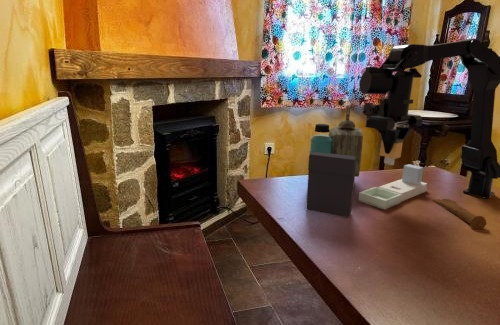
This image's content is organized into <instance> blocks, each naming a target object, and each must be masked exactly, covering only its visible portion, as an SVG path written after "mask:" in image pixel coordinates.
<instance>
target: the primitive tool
mask: <svg viewBox="0 0 500 325" xmlns="http://www.w3.org/2000/svg"><path fill="white" fill-rule="evenodd" d="M431 201H433V202H434V203H436V205H439V206H441V207H442V208H444V209H445V210H447V211H449V212H450V213H452V214H453V215H455V216H456V217H458V218H460V219H462V220H463V221H464V222H466V223H467V224H469V226H470V228H472V229H473V230H483V229H484V228H485V227H486V226H487V220H486V218H485V217H484V216H483V215H476V214H474V213H472V212H470V211H469V210H467V209H466V208H463V207H462V206H460V204H457V202H456V201H455V200H453V199H449V198H442V199H441V198H439V199H438V198H437V199H436V198H434V199H431Z"/></svg>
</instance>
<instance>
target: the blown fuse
mask: <svg viewBox="0 0 500 325" xmlns="http://www.w3.org/2000/svg"><path fill="white" fill-rule="evenodd" d="M403 140H404V139H399V138H397V139H396V141H395V143H394V145H393V147H392V150H391V151H390V153H389V154H387V153H385V150H384V145H383V140H382V138H381V141H380V148H379V149H380V150H379V156H381V157H384V160H383V163H384V164H386V165H390V166H394V165H395V160H396V159H399V158H401V156H402V150H403V143H404V141H405V140H404V141H403Z"/></svg>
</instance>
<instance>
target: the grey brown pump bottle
mask: <svg viewBox="0 0 500 325" xmlns="http://www.w3.org/2000/svg"><path fill="white" fill-rule="evenodd" d="M350 105H351V104H347V105H346V110H345V111H346V112H345V119H343V120H341V121H340V122H339V124H337V126H335V127H332V128H329V132H328V136H329V137H330V138H331V139H332V147H331V154H338V155H347V156H355V157H356V158H357V159H356V169H355V178H357V177H360V173H361V171H360V170H361V164H362V155H363V154H362V152H363V140H364V138H363V136H364V134H363V131H362V129H361V128H360V127H356V124H355V122H354V121H353V120H351V119H350V115H351V114H350V113H351V106H350Z"/></svg>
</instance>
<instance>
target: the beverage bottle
mask: <svg viewBox="0 0 500 325" xmlns="http://www.w3.org/2000/svg"><path fill="white" fill-rule="evenodd" d="M329 130H330V125H329V124H328V123H327V124H326V123H317V124H315V127H314V132H316V133H329ZM331 147H332V139H331V138H330V137H329V135H327V134H314V135H313V136H312V137H311V138H310V149H309V155H310V154H311V153H313V152H321V153H330V154H331ZM308 174H309V171H308ZM308 174H307V175H308Z"/></svg>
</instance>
